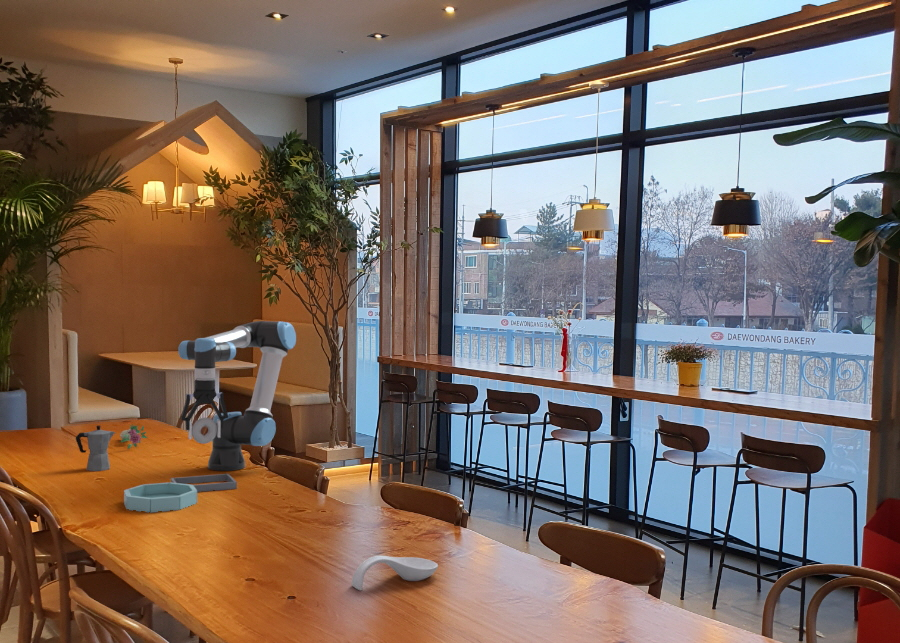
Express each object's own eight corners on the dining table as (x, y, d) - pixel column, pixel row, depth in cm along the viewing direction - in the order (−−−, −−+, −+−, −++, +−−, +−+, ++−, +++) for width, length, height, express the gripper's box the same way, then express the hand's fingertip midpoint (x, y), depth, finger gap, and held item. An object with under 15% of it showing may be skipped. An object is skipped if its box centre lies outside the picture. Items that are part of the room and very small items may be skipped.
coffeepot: (111, 465, 349) (111, 422, 348) (118, 469, 342) (118, 425, 341) (72, 469, 339) (72, 425, 339) (78, 473, 332) (79, 428, 331)
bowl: (189, 493, 304) (189, 480, 303) (200, 507, 283) (200, 494, 283) (122, 498, 293) (122, 486, 293) (128, 514, 273) (128, 501, 273)
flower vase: (133, 455, 409) (147, 451, 380) (107, 449, 404) (120, 445, 374) (139, 431, 413) (155, 426, 384) (114, 425, 407) (128, 419, 378)
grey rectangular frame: (228, 480, 326) (228, 473, 326) (236, 488, 312) (236, 482, 312) (170, 484, 316) (170, 478, 316) (176, 493, 302) (177, 486, 302)
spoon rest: (421, 567, 226) (422, 541, 226) (446, 579, 217) (446, 552, 217) (344, 583, 213) (345, 555, 213) (367, 597, 203) (367, 568, 203)
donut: (193, 445, 309) (193, 419, 309) (189, 444, 312) (190, 417, 311) (218, 443, 316) (219, 416, 315) (215, 441, 318) (215, 415, 318)
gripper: (175, 381, 304) (175, 441, 305) (237, 379, 314) (236, 437, 315) (172, 379, 311) (172, 438, 312) (232, 377, 321) (232, 434, 322)
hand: (204, 437), depth 314 cm, fingers closed on donut, 10 cm apart
